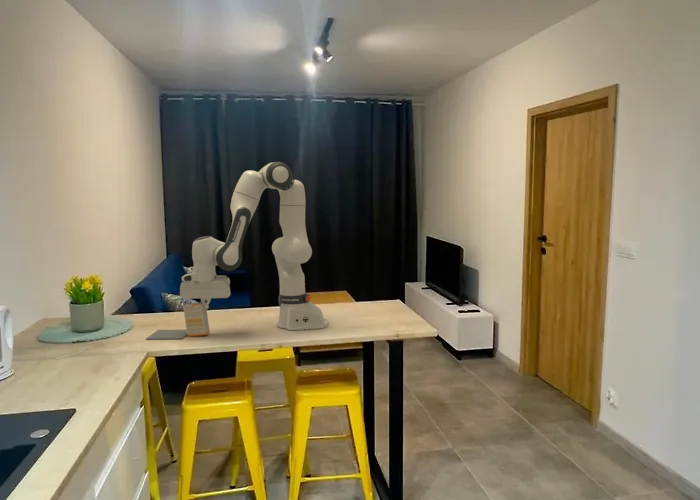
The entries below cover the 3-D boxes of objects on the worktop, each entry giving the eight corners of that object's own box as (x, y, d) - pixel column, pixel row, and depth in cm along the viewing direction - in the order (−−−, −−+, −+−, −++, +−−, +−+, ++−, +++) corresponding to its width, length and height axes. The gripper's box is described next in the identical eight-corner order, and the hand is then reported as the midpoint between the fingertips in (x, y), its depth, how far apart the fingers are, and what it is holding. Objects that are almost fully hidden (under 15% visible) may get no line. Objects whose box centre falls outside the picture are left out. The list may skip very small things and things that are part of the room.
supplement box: (210, 332, 217) (206, 301, 216) (205, 335, 212) (201, 304, 211) (191, 333, 218) (187, 303, 217) (186, 336, 213) (182, 305, 212)
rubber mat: (192, 330, 222) (192, 329, 222) (182, 339, 209) (182, 338, 209) (158, 331, 222) (158, 329, 222) (145, 339, 209) (145, 338, 209)
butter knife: (53, 358, 188) (57, 359, 186) (112, 341, 208) (116, 342, 207) (53, 359, 188) (57, 360, 186) (112, 342, 208) (116, 343, 207)
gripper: (231, 274, 215) (232, 306, 217) (182, 274, 216) (184, 307, 217) (227, 276, 209) (229, 310, 211) (177, 277, 209) (179, 310, 211)
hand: (206, 308), depth 214 cm, fingers closed, pressing on supplement box
